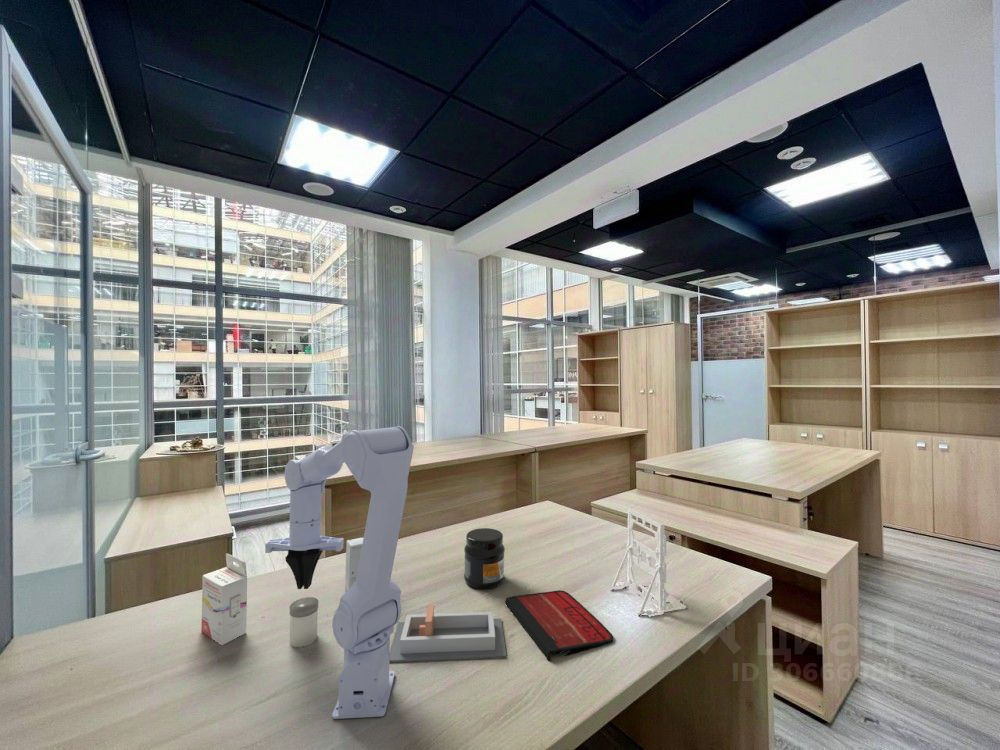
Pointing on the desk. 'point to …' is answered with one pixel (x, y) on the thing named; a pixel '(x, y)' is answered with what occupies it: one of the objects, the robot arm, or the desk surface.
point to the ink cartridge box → (225, 601)
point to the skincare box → (352, 560)
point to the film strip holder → (658, 555)
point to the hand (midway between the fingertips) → (304, 586)
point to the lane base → (449, 638)
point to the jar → (303, 621)
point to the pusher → (428, 623)
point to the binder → (558, 622)
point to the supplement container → (484, 558)
